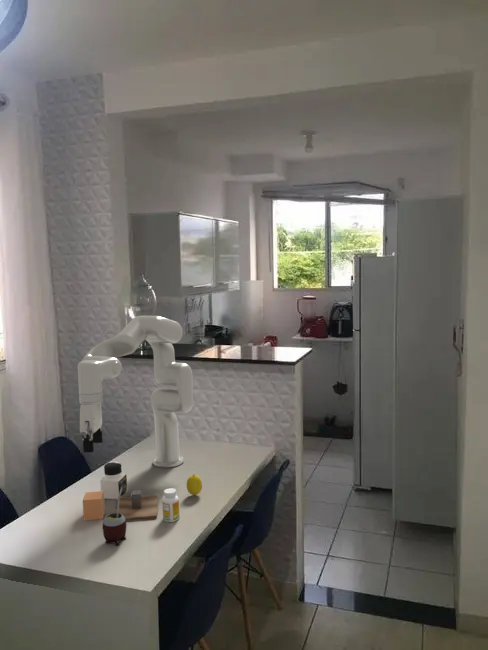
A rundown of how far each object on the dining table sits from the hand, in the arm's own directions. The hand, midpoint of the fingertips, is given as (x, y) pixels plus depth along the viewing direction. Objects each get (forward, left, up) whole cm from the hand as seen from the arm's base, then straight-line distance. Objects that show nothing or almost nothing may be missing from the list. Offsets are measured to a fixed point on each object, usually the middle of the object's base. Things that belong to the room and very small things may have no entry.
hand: (93, 447), depth 190 cm
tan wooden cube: (+3, -1, -23) cm, 23 cm away
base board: (+1, +13, -23) cm, 27 cm away
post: (+1, +13, -23) cm, 27 cm away
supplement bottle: (+10, +25, -23) cm, 35 cm away
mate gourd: (+21, +8, -23) cm, 32 cm away
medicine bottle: (-12, +4, -23) cm, 27 cm away
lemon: (-6, +33, -23) cm, 41 cm away
